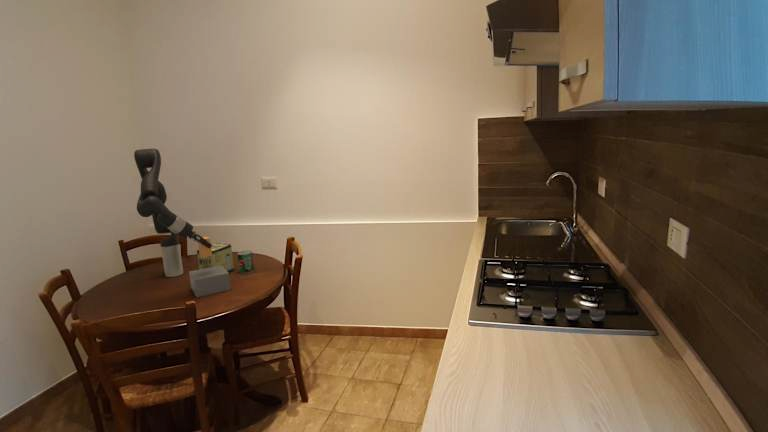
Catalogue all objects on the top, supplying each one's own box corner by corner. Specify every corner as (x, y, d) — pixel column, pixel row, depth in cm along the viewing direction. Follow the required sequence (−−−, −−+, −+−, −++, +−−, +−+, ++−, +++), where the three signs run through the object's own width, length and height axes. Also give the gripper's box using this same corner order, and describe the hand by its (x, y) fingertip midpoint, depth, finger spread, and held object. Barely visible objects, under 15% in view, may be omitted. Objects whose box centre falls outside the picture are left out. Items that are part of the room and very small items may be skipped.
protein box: (199, 277, 239) (196, 250, 236) (220, 268, 253) (216, 242, 250) (215, 279, 235) (211, 251, 232) (234, 270, 249) (231, 243, 246)
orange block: (199, 256, 217) (197, 238, 216) (208, 254, 220) (206, 236, 219) (203, 257, 214) (200, 239, 212) (212, 255, 217) (210, 238, 215)
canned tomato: (257, 269, 248) (255, 251, 245) (247, 274, 241) (245, 255, 239) (246, 268, 251) (244, 250, 249) (236, 272, 244) (234, 253, 242)
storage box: (191, 288, 223) (188, 271, 222) (223, 281, 232) (221, 265, 230) (196, 298, 210) (194, 280, 208) (231, 290, 218) (228, 272, 216)
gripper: (190, 222, 203) (219, 242, 214) (179, 218, 214) (208, 237, 224) (179, 235, 201) (209, 255, 211) (170, 231, 211) (198, 249, 222)
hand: (208, 245), depth 218 cm, fingers closed on orange block, 4 cm apart
